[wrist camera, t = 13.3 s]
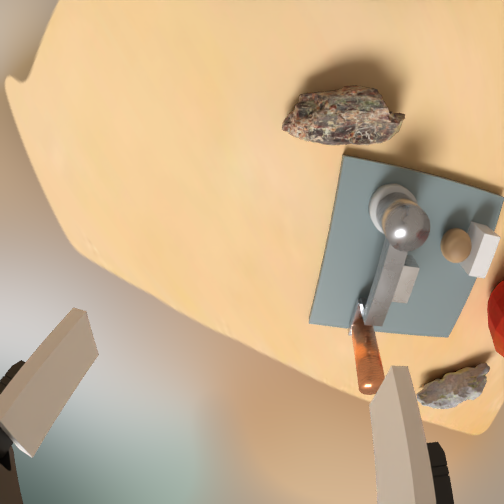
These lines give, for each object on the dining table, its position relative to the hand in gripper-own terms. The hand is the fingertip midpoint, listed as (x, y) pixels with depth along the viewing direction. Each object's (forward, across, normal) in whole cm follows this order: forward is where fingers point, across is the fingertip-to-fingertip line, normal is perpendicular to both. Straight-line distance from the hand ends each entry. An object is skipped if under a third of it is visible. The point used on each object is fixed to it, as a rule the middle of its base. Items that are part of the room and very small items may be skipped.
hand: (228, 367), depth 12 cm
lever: (+27, +15, -8) cm, 32 cm away
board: (+29, +19, -7) cm, 35 cm away
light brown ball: (+28, +24, -2) cm, 36 cm away
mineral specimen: (+29, +39, -30) cm, 57 cm away
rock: (+29, +6, +9) cm, 31 cm away
